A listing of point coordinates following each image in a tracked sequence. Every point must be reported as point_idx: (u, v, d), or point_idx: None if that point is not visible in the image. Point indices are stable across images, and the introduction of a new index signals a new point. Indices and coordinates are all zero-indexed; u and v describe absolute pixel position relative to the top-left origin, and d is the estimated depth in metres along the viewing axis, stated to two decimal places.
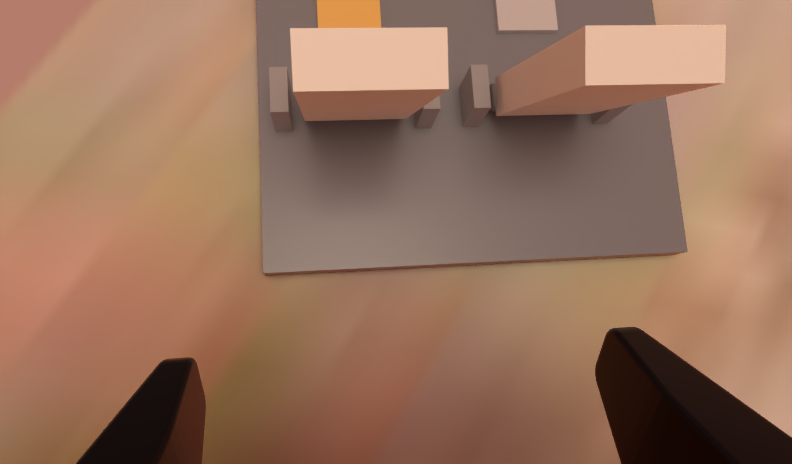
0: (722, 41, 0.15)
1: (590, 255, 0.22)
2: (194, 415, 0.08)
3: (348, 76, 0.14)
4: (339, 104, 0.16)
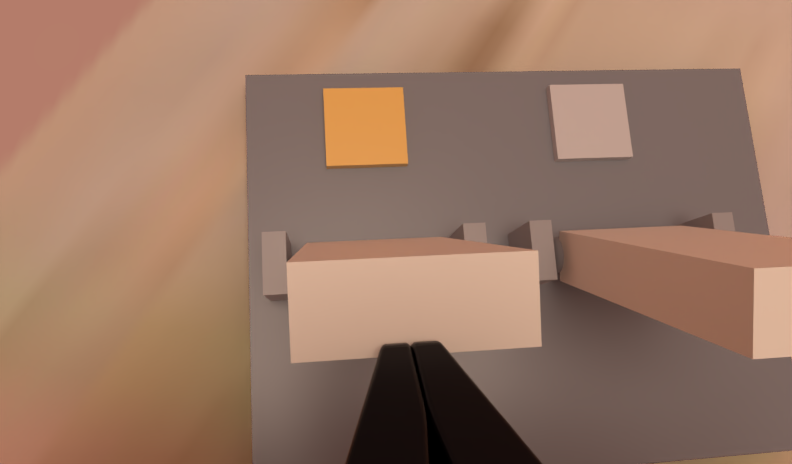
0: None
1: (683, 459, 0.17)
2: None
3: (381, 334, 0.08)
4: None
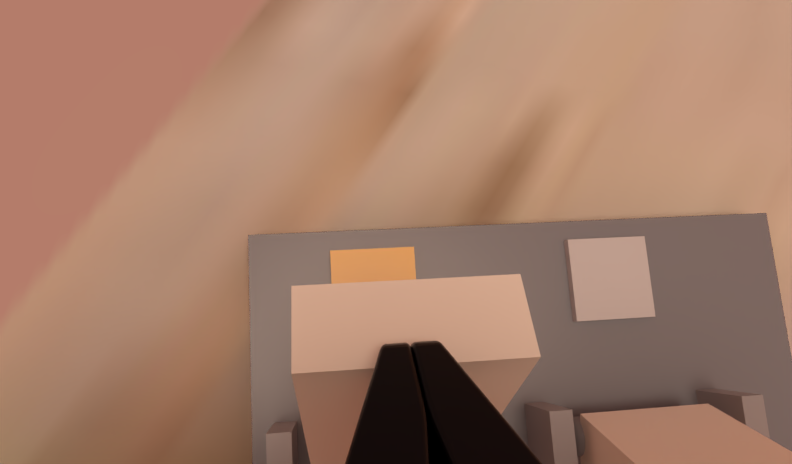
0: None
1: None
2: None
3: (380, 346, 0.09)
4: None
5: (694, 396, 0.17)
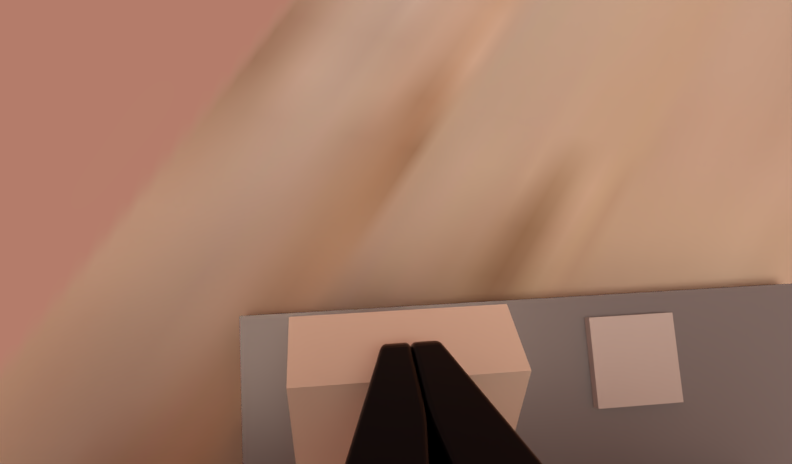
0: None
1: None
2: None
3: (373, 365, 0.09)
4: None
5: None
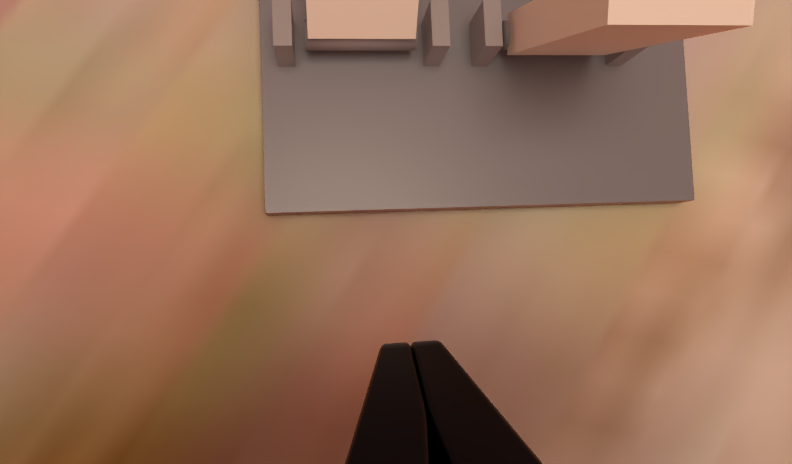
0: None
1: (596, 201, 0.22)
2: None
3: None
4: None
5: None
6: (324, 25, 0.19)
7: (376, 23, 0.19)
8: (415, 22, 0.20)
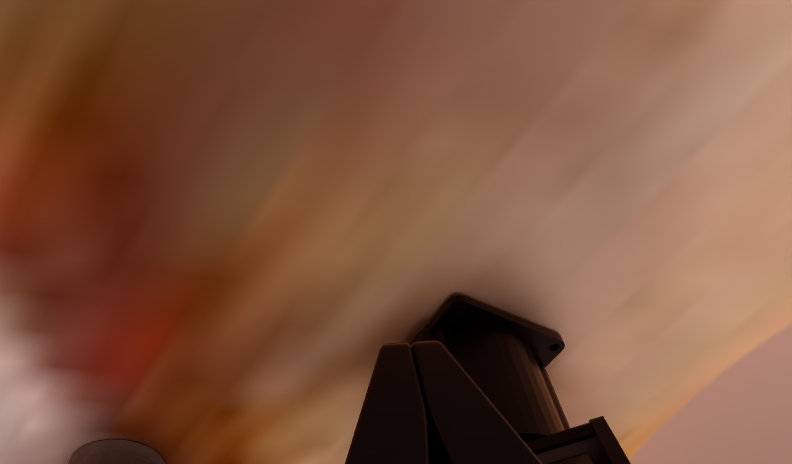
0: None
1: None
2: None
3: None
4: None
5: None
6: None
7: None
8: None
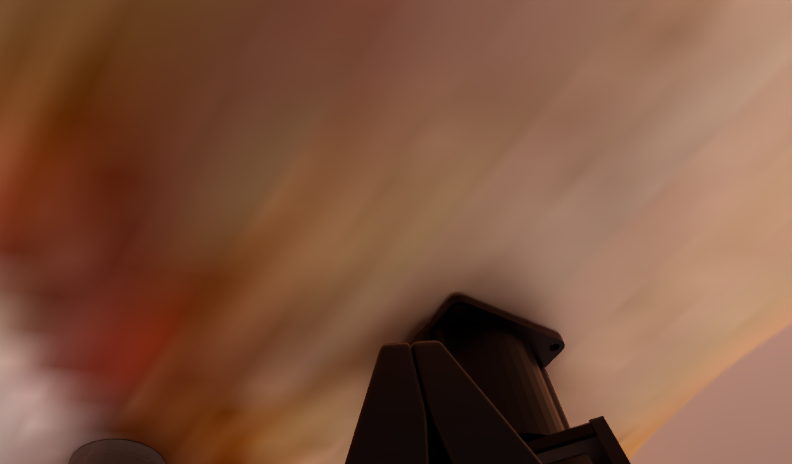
0: None
1: None
2: None
3: None
4: None
5: None
6: None
7: None
8: None
